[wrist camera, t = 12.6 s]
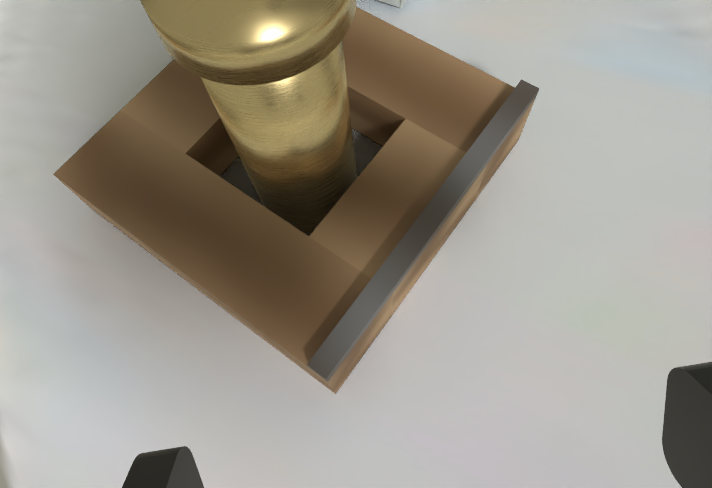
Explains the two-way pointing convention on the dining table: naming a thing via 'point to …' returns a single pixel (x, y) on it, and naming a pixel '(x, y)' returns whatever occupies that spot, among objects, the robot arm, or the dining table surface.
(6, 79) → the dining table surface
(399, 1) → the tea box
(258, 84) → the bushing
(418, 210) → the jig
